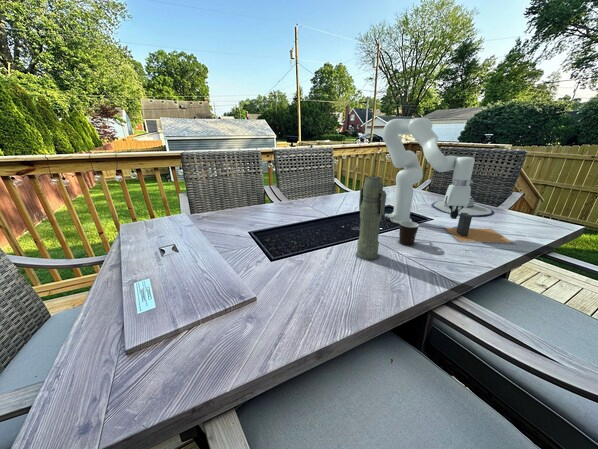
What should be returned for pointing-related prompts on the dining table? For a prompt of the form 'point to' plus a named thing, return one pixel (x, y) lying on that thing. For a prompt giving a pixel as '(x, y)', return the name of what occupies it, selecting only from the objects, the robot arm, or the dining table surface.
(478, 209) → the sun hat
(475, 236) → the cork mat
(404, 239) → the coffee mug
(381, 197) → the thermos
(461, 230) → the block
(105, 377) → the dining table surface
